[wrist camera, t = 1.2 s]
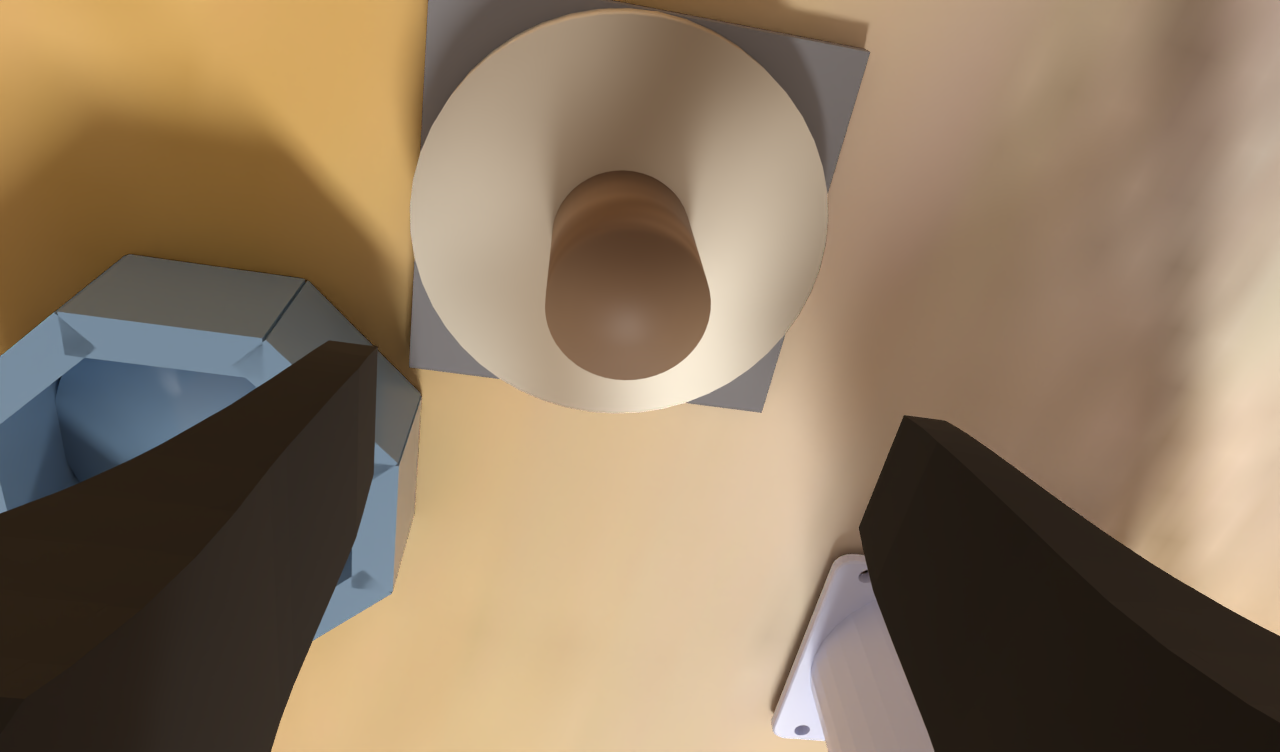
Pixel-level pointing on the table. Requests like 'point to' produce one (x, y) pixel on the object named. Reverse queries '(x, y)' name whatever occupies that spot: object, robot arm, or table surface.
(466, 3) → the mat
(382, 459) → the bowl
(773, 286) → the lid
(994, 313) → the table surface
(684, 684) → the table surface
